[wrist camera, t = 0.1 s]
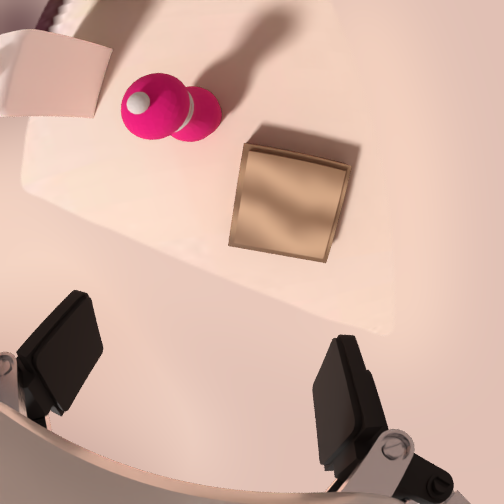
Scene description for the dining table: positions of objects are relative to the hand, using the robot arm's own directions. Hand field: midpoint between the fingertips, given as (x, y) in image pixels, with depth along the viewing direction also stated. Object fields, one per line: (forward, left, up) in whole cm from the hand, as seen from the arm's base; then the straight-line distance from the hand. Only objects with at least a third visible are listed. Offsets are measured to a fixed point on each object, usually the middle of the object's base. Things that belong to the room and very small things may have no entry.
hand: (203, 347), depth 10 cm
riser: (+1, +5, -31) cm, 32 cm away
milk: (-15, -32, -31) cm, 47 cm away
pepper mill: (-9, -9, -31) cm, 34 cm away
